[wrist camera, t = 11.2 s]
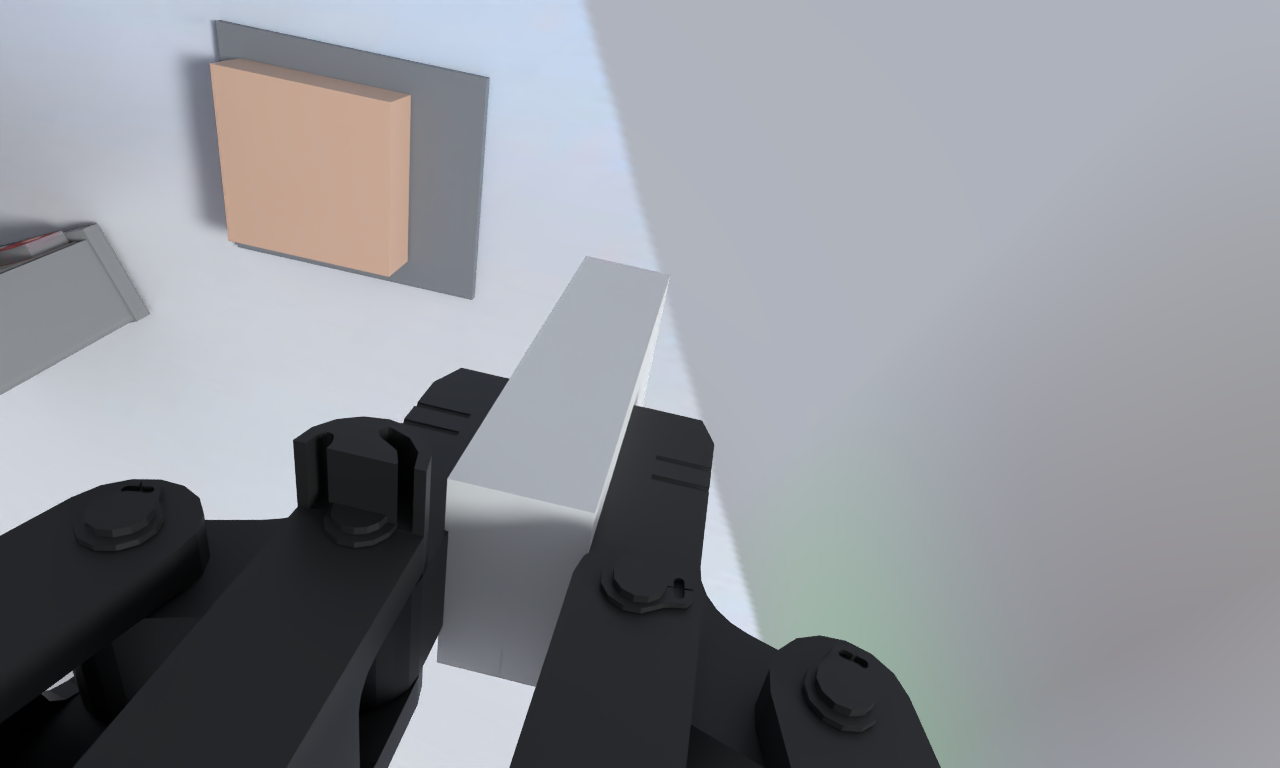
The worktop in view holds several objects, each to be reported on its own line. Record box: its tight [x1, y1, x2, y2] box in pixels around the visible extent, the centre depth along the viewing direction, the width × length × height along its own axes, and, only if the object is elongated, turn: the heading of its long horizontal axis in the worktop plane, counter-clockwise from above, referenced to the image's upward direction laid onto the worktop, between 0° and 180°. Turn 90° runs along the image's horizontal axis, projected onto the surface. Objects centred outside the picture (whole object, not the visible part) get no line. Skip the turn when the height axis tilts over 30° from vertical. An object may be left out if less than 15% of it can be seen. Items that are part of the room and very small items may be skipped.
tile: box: [210, 58, 411, 277], centre depth 39 cm, size 2×9×9 cm
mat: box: [216, 20, 489, 300], centre depth 41 cm, size 14×12×1 cm
